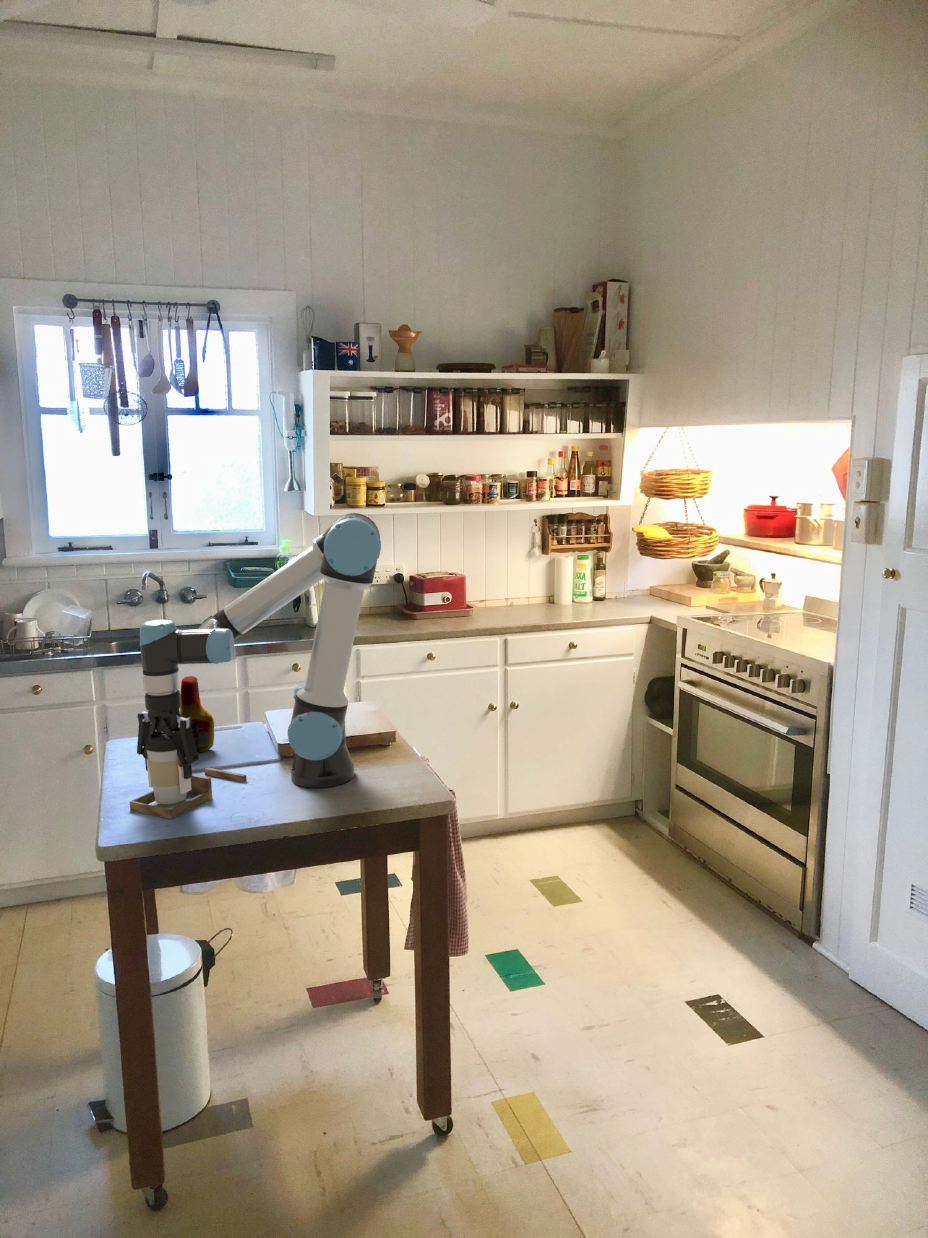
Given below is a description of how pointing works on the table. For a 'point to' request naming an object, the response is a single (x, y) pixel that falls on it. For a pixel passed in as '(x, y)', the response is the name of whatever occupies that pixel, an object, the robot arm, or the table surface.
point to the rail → (225, 774)
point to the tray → (198, 790)
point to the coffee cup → (164, 769)
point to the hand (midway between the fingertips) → (170, 788)
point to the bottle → (196, 714)
